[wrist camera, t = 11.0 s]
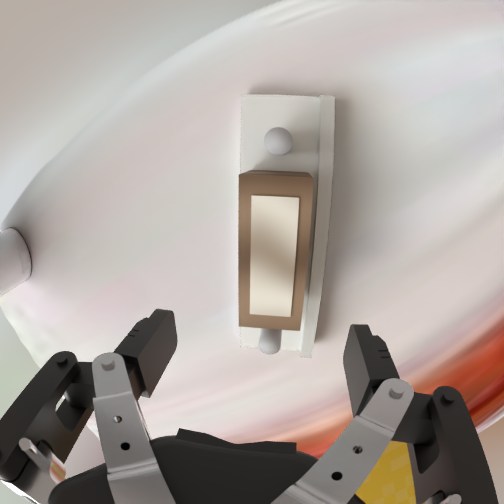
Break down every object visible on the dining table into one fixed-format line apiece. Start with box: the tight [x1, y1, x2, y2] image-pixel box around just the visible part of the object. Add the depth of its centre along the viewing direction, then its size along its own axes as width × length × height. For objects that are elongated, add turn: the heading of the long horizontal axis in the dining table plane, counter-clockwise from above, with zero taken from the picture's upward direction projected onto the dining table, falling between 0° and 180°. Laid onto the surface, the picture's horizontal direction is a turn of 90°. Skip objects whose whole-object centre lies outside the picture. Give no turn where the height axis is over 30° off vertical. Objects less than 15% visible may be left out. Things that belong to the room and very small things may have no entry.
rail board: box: [240, 95, 335, 358], centre depth 24 cm, size 8×26×6 cm, turn 179°
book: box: [355, 441, 416, 504], centre depth 25 cm, size 17×7×25 cm, turn 139°
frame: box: [239, 170, 313, 331], centre depth 23 cm, size 12×5×6 cm, turn 179°
